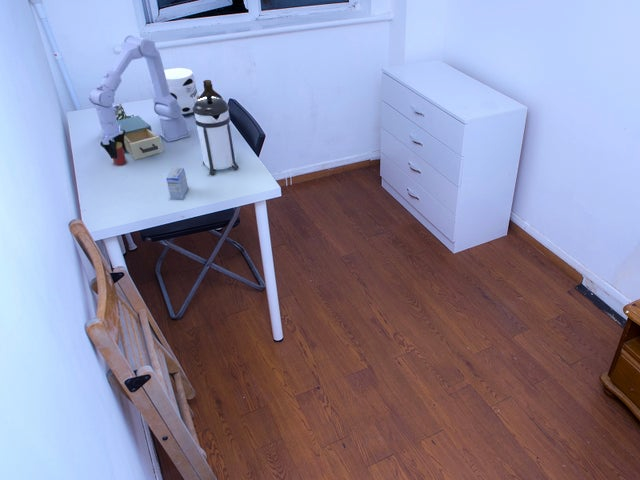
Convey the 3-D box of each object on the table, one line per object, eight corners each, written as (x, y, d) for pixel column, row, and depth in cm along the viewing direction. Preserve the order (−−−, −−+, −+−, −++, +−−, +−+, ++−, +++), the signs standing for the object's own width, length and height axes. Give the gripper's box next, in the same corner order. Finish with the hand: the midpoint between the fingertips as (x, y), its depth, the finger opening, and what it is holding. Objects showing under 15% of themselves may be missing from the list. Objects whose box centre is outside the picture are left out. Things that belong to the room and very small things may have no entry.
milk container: (209, 111, 260) (202, 74, 250) (175, 121, 250) (166, 82, 239) (190, 101, 270) (183, 64, 259) (156, 110, 259) (147, 72, 249)
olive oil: (204, 133, 241) (194, 77, 227) (229, 131, 243) (221, 76, 229) (203, 143, 233) (192, 86, 218) (229, 142, 235) (220, 85, 220)
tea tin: (116, 160, 218) (111, 141, 214) (128, 160, 219) (123, 141, 214) (112, 165, 215) (106, 147, 210) (124, 165, 215) (119, 147, 210)
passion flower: (115, 138, 246) (102, 113, 244) (139, 128, 250) (126, 104, 248) (114, 133, 236) (99, 107, 234) (139, 123, 240) (125, 97, 238)
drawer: (167, 155, 221) (164, 140, 218) (138, 163, 215) (134, 148, 211) (151, 141, 231) (147, 126, 227) (122, 148, 225) (118, 133, 221)
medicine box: (176, 188, 203) (171, 167, 197) (188, 188, 203) (184, 167, 198) (170, 199, 196) (165, 178, 191) (183, 199, 197) (178, 178, 191)
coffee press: (249, 161, 222) (239, 88, 204) (226, 179, 209) (213, 103, 192) (212, 153, 226) (199, 81, 209) (188, 170, 214) (172, 96, 196)
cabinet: (155, 144, 231) (150, 125, 226) (123, 153, 224) (118, 134, 219) (142, 133, 239) (138, 115, 234) (112, 141, 231) (106, 123, 227)
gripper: (112, 128, 201) (122, 162, 209) (125, 113, 212) (134, 145, 220) (92, 128, 200) (102, 162, 208) (106, 113, 212) (116, 145, 220)
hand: (117, 153), depth 214 cm, fingers open, 7 cm apart
